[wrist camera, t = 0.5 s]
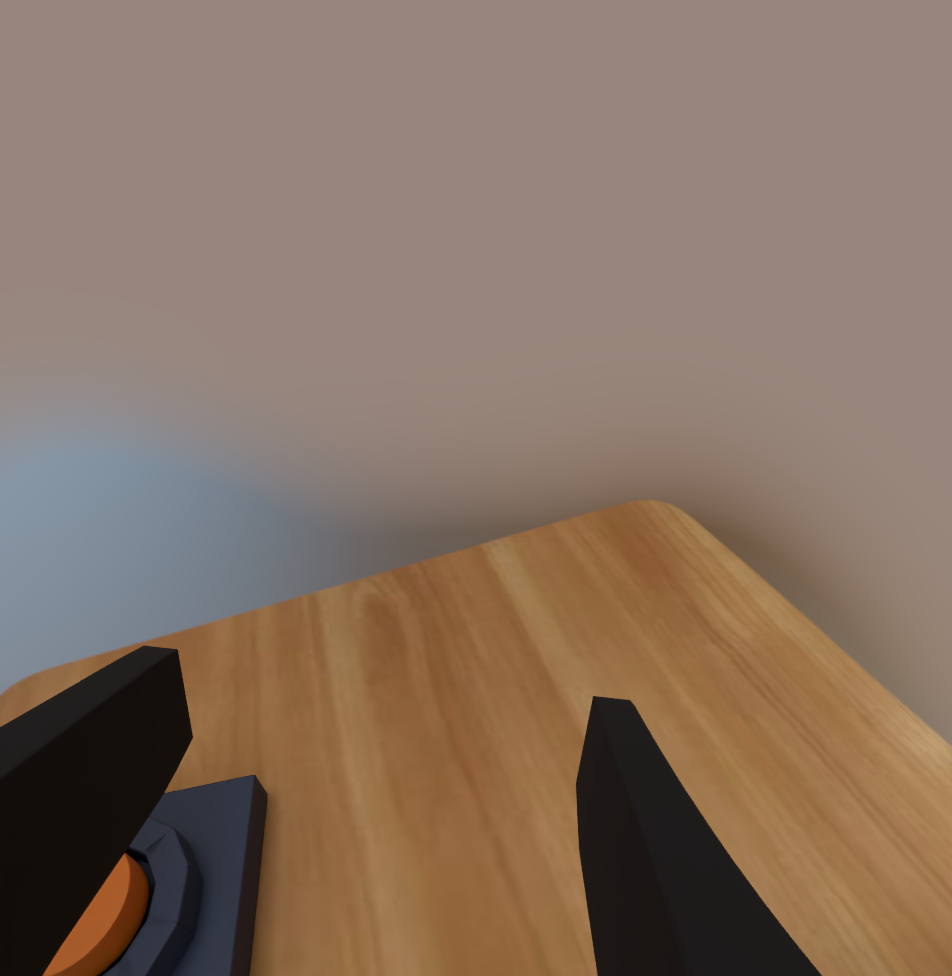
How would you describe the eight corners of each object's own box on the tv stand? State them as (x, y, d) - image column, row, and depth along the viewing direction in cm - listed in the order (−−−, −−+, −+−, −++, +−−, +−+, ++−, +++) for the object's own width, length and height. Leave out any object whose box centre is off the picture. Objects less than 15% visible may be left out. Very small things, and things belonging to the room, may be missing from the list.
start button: (132, 974, 19) (109, 961, 18) (8, 1003, 19) (-22, 993, 18) (161, 847, 22) (143, 830, 21) (56, 870, 22) (32, 854, 21)
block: (238, 1082, 20) (199, 1069, 17) (-71, 1168, 18) (-162, 1167, 16) (268, 793, 27) (243, 755, 25) (52, 839, 26) (4, 804, 24)
